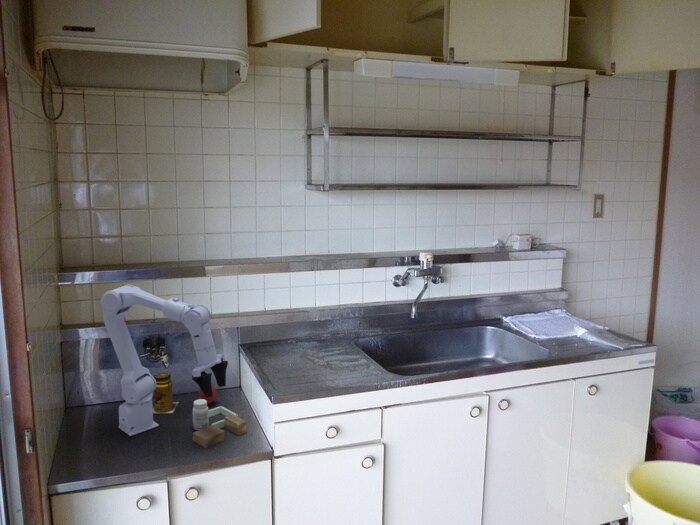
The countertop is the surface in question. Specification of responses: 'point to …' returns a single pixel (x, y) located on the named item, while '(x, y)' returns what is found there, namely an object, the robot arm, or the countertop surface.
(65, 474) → the countertop surface
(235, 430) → the block
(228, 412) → the corral
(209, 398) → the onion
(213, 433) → the tan cardboard block
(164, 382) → the condiment
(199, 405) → the pill bottle
